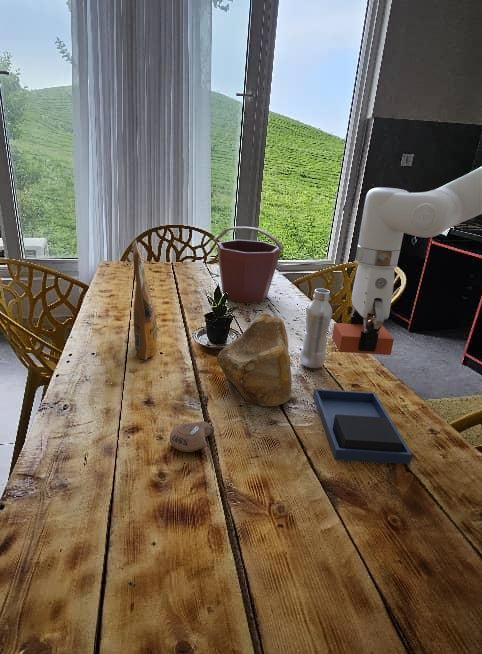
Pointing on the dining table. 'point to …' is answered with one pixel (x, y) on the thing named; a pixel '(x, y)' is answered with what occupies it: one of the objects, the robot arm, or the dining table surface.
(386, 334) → the orange red rectangular block
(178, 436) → the oil lamp
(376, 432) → the pad
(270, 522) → the dining table surface
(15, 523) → the dining table surface
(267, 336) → the rough brown rock
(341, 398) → the pad frame
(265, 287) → the bucket
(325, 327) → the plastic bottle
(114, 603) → the dining table surface
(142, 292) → the pancake mix bag
